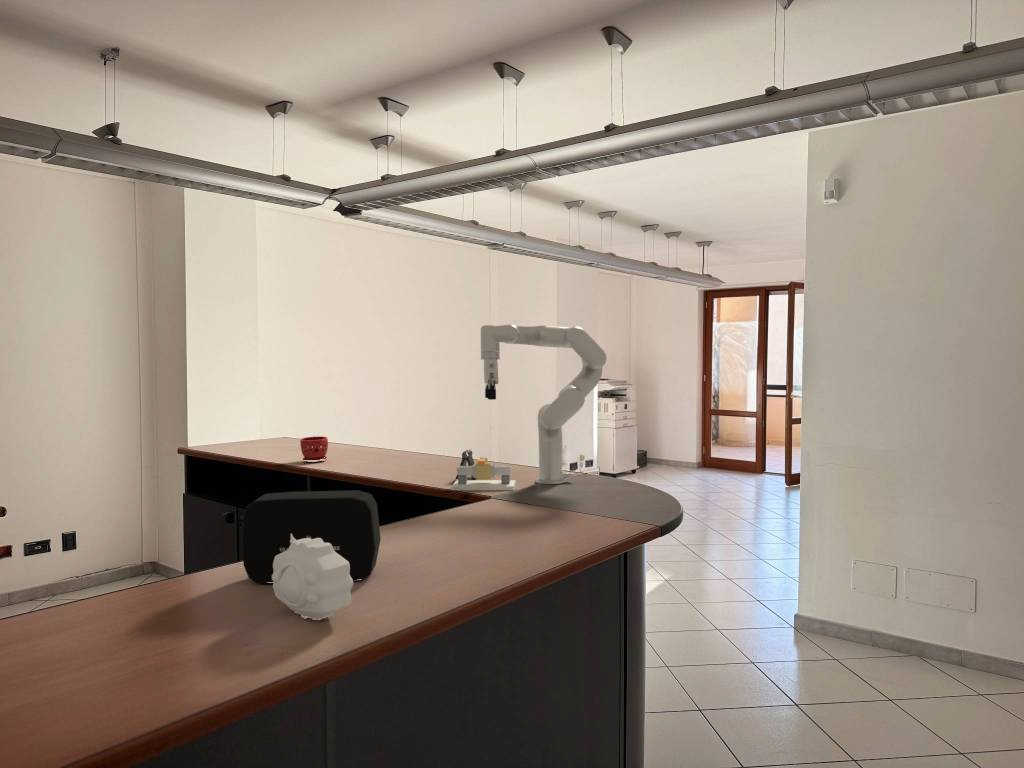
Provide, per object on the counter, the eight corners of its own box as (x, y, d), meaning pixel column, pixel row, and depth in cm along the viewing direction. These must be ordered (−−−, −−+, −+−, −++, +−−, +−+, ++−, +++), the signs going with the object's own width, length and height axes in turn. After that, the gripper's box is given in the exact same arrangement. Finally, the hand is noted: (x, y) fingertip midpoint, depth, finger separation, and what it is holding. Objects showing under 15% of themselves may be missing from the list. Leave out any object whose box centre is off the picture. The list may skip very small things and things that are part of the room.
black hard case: (242, 586, 162) (240, 499, 161) (259, 570, 174) (257, 489, 173) (375, 583, 163) (373, 497, 162) (383, 567, 175) (381, 486, 174)
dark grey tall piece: (479, 478, 299) (479, 449, 298) (476, 480, 293) (475, 451, 292) (459, 477, 300) (458, 449, 300) (455, 480, 295) (454, 451, 294)
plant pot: (299, 461, 354) (298, 437, 354) (325, 459, 360) (325, 435, 359) (303, 464, 343) (302, 440, 342) (330, 462, 348) (329, 438, 348)
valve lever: (480, 460, 279) (480, 456, 279) (487, 460, 279) (487, 456, 279) (477, 465, 267) (476, 461, 267) (484, 465, 267) (484, 461, 266)
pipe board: (515, 483, 284) (515, 472, 283) (513, 490, 271) (513, 478, 271) (456, 484, 285) (456, 472, 285) (451, 490, 272) (451, 478, 272)
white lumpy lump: (306, 600, 152) (304, 527, 151) (362, 619, 141) (360, 539, 140) (261, 616, 143) (258, 538, 142) (316, 637, 132) (313, 552, 131)
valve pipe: (511, 476, 280) (511, 460, 280) (510, 479, 274) (510, 462, 274) (458, 476, 282) (458, 460, 281) (456, 479, 276) (456, 462, 275)
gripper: (502, 356, 275) (502, 399, 276) (496, 355, 292) (497, 397, 293) (483, 356, 274) (483, 400, 275) (478, 356, 291) (479, 397, 292)
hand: (490, 398), depth 284 cm, fingers open, 9 cm apart
